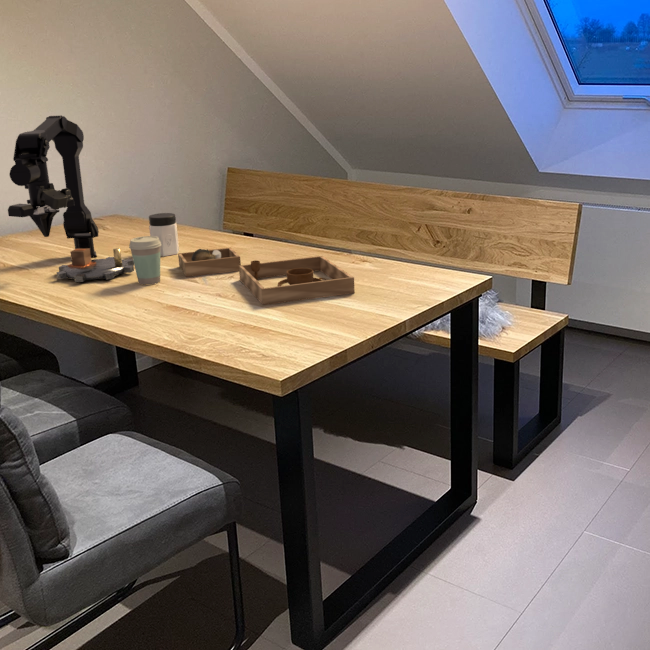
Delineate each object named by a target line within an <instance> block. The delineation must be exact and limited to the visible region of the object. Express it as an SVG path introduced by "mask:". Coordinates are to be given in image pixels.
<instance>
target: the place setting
mask: <svg viewBox="0 0 650 650" xmlns="http://www.w3.org/2000/svg"><path fill="white" fill-rule="evenodd" d="M260 263H261V261H260V260H256V259H255V260H251V261H250V264H251V269H252V271H253V272H255V276H254V278H255V279H256V280H257V281H259V278H258V271H259V270H260ZM323 280H324V281H325V280H327V279H326V278H325V277H314V272H313V270H312V269H309V268H295V269H290V270H288V271H287V275H286V278H285V279H281V280H280V281H278V282H277V286H284V285H286V284H287V285H293V284H301V283H309V282H317V281H323Z"/></svg>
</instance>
